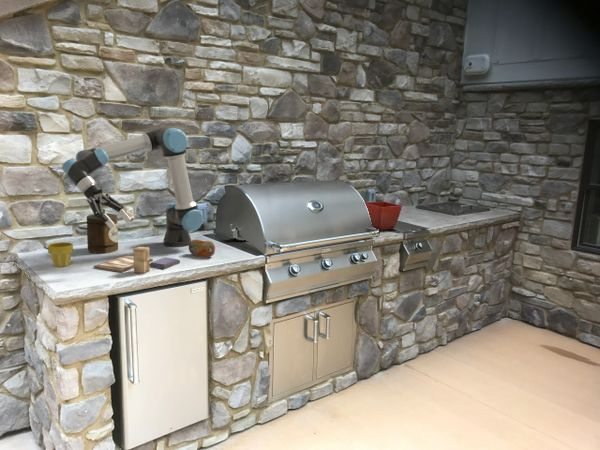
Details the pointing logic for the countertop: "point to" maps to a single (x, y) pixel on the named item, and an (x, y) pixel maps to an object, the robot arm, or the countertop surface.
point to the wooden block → (141, 260)
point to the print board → (118, 264)
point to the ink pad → (164, 263)
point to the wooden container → (102, 234)
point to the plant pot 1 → (60, 253)
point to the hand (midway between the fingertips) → (121, 224)
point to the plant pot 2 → (383, 214)
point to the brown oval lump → (202, 248)
